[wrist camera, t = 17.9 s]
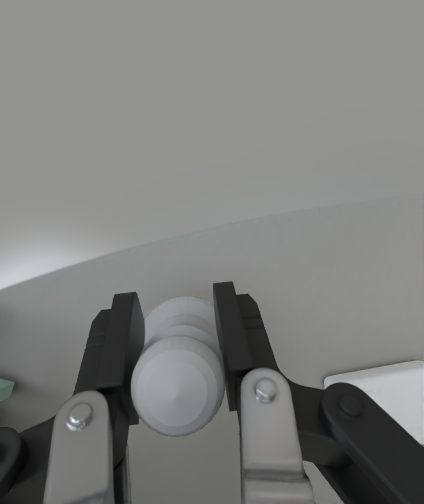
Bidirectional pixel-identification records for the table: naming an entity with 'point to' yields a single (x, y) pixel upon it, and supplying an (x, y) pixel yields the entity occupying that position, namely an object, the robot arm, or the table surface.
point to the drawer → (5, 389)
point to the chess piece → (179, 368)
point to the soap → (393, 392)
